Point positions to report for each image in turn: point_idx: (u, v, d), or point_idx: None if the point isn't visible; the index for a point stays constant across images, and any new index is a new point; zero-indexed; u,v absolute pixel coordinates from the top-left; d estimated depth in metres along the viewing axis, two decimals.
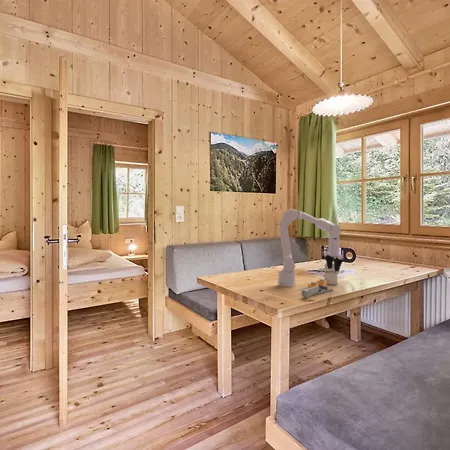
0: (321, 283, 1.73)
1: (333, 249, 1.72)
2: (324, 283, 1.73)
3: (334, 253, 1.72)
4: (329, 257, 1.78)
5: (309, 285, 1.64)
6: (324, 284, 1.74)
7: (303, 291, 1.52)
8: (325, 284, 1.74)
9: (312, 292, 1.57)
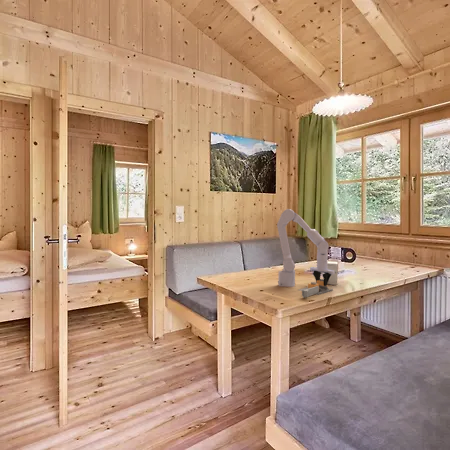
0: (321, 283, 1.73)
1: (324, 265, 1.72)
2: None
3: (325, 269, 1.72)
4: (318, 273, 1.76)
5: (309, 285, 1.64)
6: None
7: (303, 291, 1.52)
8: None
9: (312, 292, 1.57)
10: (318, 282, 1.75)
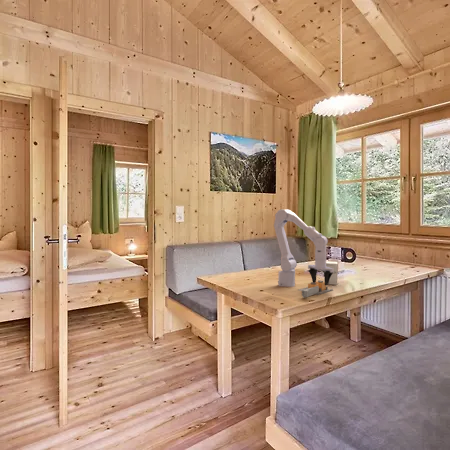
0: (320, 284, 1.66)
1: (322, 262, 1.65)
2: (323, 284, 1.67)
3: (323, 266, 1.65)
4: (314, 270, 1.70)
5: (309, 285, 1.64)
6: (323, 285, 1.67)
7: (303, 291, 1.52)
8: (324, 285, 1.67)
9: (312, 292, 1.57)
10: None
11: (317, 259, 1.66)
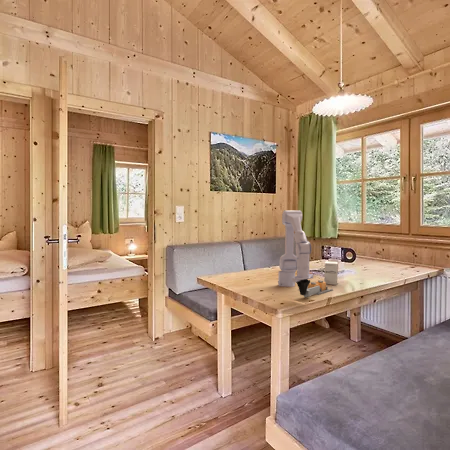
0: (320, 284, 1.66)
1: (297, 270, 1.51)
2: (323, 284, 1.67)
3: (297, 275, 1.51)
4: None
5: (309, 285, 1.64)
6: (323, 285, 1.67)
7: None
8: (324, 285, 1.67)
9: (313, 292, 1.57)
10: None
11: None
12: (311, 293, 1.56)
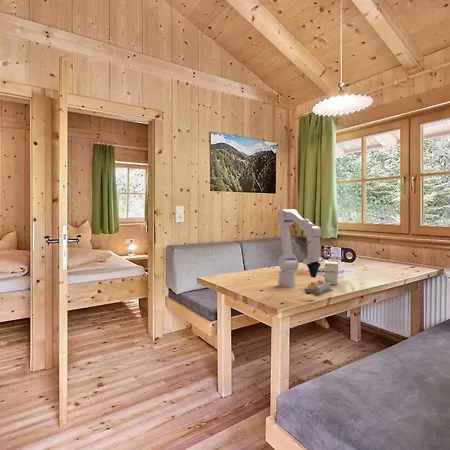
0: (320, 284, 1.66)
1: (308, 253, 1.56)
2: None
3: (308, 258, 1.56)
4: None
5: (309, 285, 1.64)
6: None
7: (316, 287, 1.59)
8: None
9: (324, 288, 1.64)
10: None
11: None
12: (322, 290, 1.63)
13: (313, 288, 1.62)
